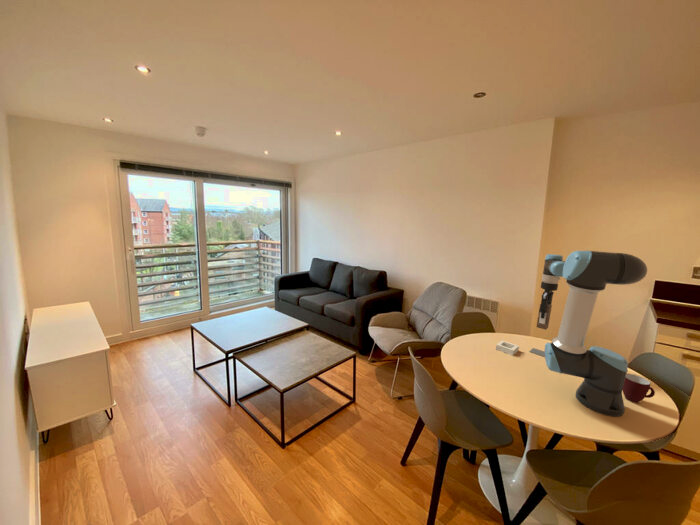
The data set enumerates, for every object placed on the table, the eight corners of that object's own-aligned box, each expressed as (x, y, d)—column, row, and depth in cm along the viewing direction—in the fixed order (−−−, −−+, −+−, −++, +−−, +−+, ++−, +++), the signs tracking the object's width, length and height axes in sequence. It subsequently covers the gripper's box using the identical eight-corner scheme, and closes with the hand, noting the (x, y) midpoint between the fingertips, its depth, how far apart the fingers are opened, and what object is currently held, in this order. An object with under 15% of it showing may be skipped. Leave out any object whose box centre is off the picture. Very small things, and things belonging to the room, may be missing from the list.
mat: (543, 356, 152) (543, 356, 152) (529, 351, 158) (529, 351, 158) (547, 353, 157) (547, 352, 157) (533, 348, 162) (533, 347, 162)
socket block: (512, 355, 152) (513, 350, 152) (495, 349, 159) (496, 344, 159) (518, 350, 158) (519, 346, 158) (501, 345, 165) (502, 340, 164)
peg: (545, 329, 152) (549, 306, 149) (536, 327, 155) (540, 304, 153) (548, 327, 155) (551, 305, 152) (538, 325, 158) (542, 303, 156)
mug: (641, 396, 120) (647, 375, 118) (658, 409, 112) (663, 387, 111) (614, 392, 122) (618, 372, 120) (628, 404, 114) (633, 383, 113)
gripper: (553, 286, 142) (546, 328, 146) (562, 281, 153) (555, 320, 157) (537, 283, 147) (530, 323, 151) (546, 278, 159) (540, 316, 163)
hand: (543, 322), depth 154 cm, fingers closed on peg, 4 cm apart
